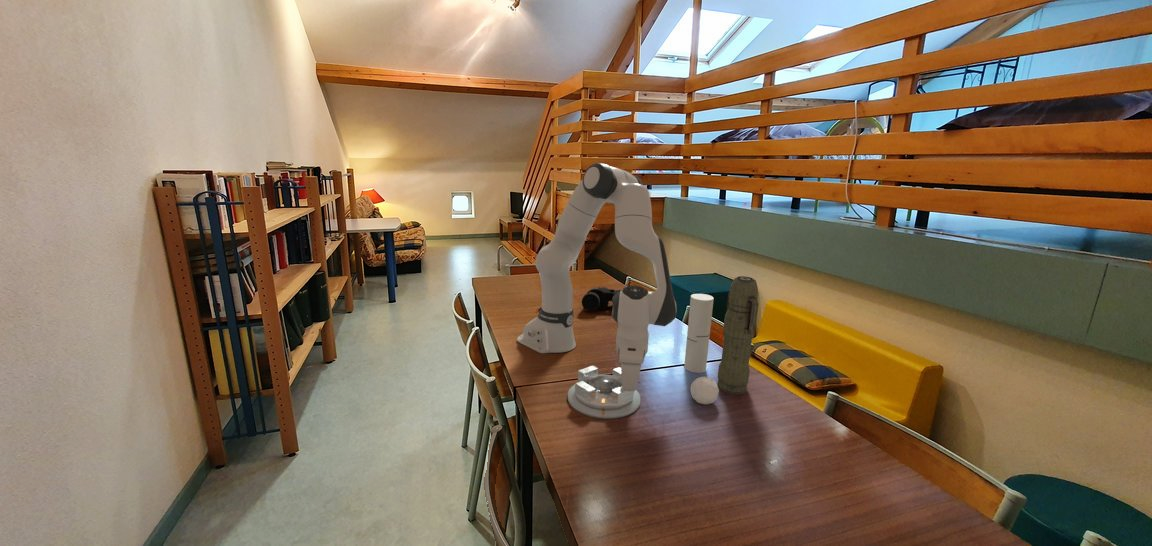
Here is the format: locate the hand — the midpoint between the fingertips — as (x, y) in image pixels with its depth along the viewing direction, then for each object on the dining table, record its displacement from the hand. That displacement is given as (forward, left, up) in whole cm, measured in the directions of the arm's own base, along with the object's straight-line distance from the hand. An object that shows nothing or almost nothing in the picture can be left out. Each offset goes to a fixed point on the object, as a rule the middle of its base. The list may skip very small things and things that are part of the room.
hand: (629, 389), depth 130 cm
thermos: (+21, +27, -4) cm, 35 cm away
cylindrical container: (+7, +33, -4) cm, 34 cm away
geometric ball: (+17, +13, -4) cm, 22 cm away
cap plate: (-7, -3, -4) cm, 8 cm away
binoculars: (-45, +70, -4) cm, 83 cm away
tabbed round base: (-7, -3, -3) cm, 8 cm away
